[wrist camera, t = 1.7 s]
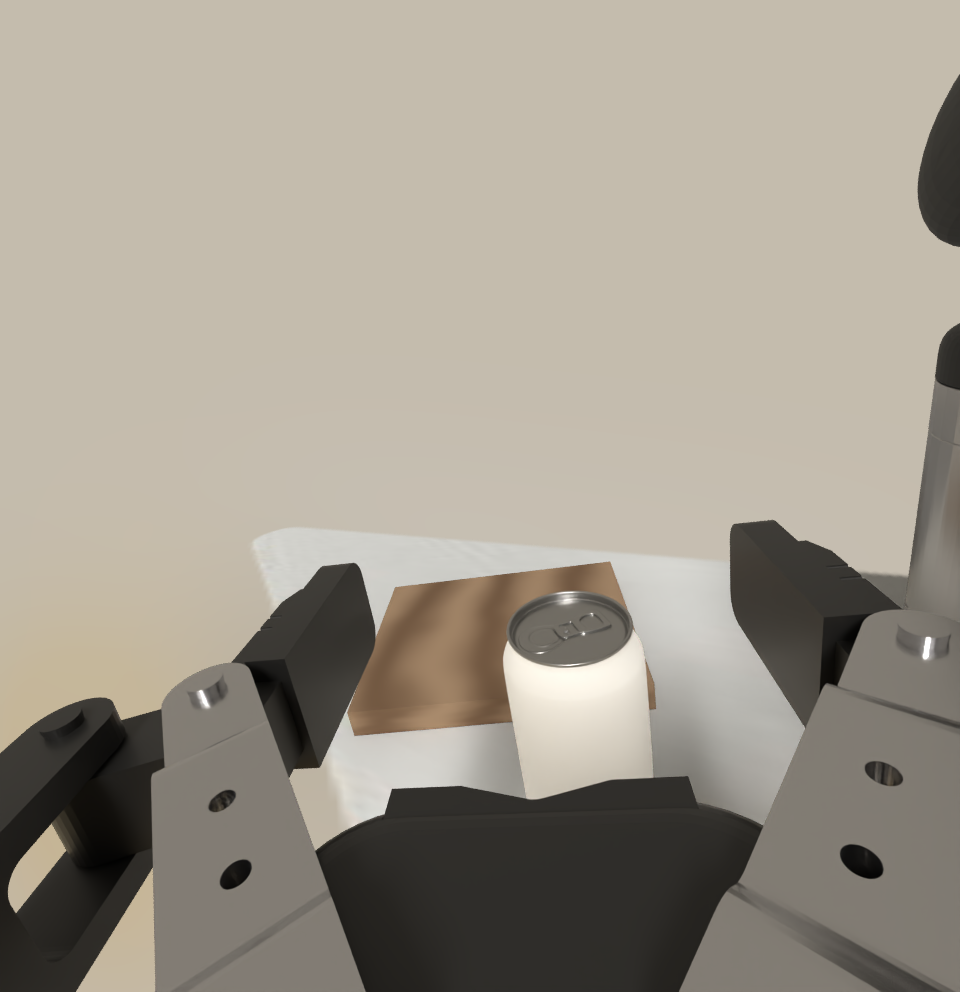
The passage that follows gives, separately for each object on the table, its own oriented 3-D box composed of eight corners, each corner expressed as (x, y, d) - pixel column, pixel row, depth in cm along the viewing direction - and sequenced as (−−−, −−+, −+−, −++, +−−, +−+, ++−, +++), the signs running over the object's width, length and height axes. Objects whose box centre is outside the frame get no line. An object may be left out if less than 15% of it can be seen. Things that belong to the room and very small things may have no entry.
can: (514, 788, 31) (479, 609, 26) (615, 749, 32) (597, 572, 28) (562, 900, 25) (527, 692, 20) (684, 846, 26) (675, 640, 22)
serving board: (611, 580, 49) (610, 561, 48) (655, 708, 34) (654, 683, 34) (399, 605, 51) (395, 587, 51) (354, 735, 36) (347, 712, 36)
